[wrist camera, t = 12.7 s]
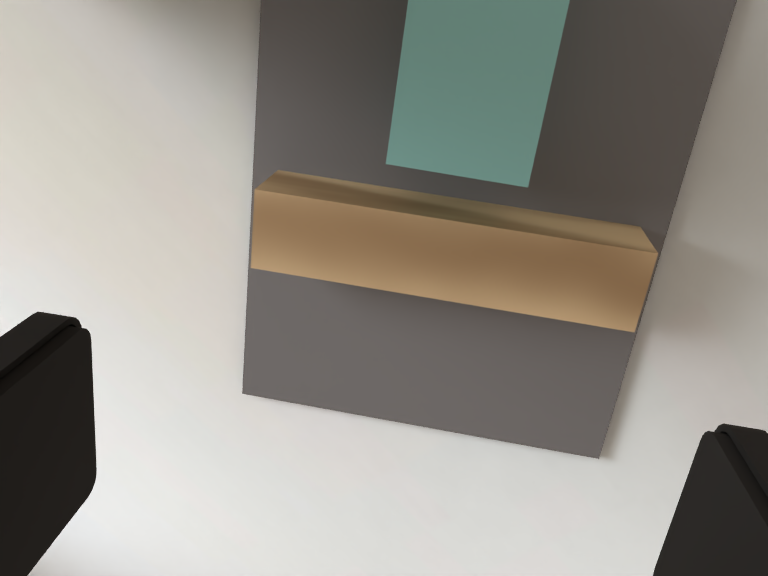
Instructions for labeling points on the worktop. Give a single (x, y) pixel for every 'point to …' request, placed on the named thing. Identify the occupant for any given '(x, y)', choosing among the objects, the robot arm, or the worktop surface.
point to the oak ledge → (452, 249)
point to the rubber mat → (544, 193)
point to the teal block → (475, 86)
